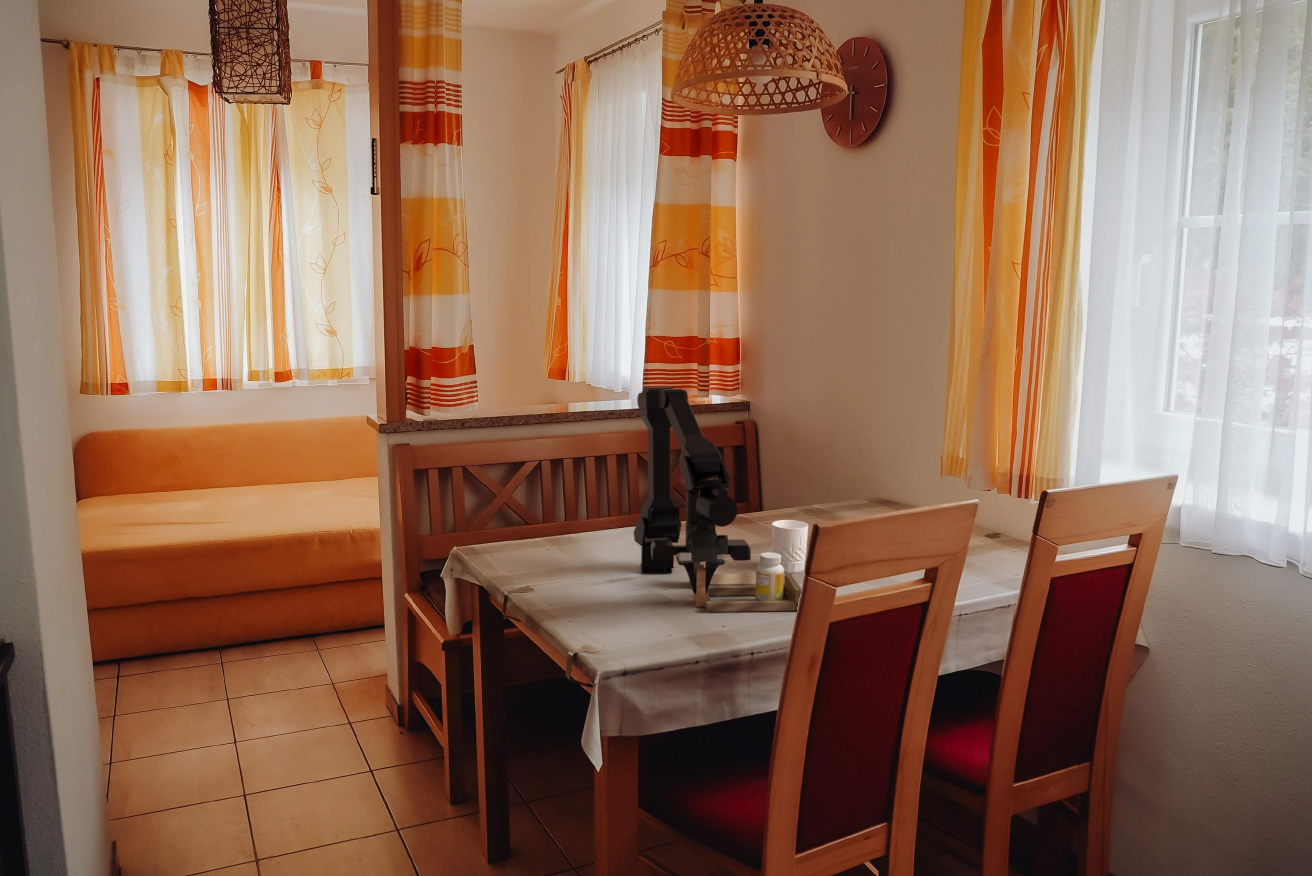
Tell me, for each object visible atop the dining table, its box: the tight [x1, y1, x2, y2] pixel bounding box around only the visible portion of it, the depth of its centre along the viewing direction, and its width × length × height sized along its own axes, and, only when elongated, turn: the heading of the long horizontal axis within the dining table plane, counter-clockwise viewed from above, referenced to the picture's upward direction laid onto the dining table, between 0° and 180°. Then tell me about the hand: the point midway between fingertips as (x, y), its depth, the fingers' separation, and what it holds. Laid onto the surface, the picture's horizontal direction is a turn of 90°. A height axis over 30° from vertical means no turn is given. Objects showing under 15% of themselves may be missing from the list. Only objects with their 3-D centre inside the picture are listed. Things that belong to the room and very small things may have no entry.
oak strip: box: [689, 562, 785, 588], centre depth 201 cm, size 20×7×7 cm, turn 94°
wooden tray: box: [693, 563, 802, 613], centre depth 189 cm, size 20×11×7 cm, turn 94°
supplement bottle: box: [754, 551, 785, 601], centre depth 189 cm, size 5×5×10 cm
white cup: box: [771, 519, 809, 574], centre depth 213 cm, size 8×8×10 cm
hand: (699, 593), depth 189 cm, fingers closed on wooden tray, 2 cm apart
